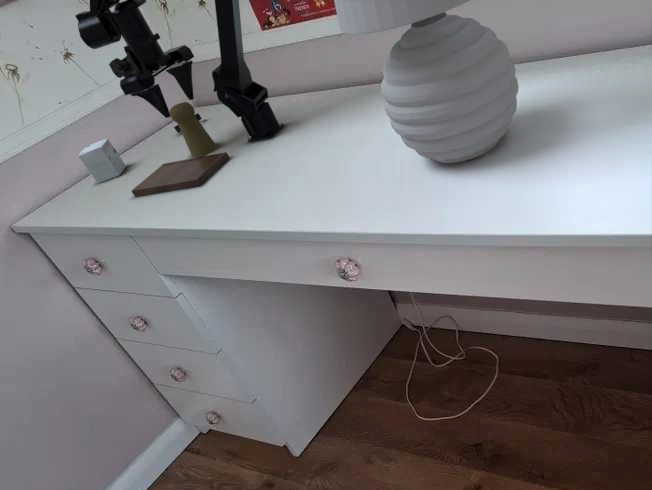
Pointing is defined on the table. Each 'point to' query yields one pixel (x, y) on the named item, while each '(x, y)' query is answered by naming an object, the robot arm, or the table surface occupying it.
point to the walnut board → (181, 174)
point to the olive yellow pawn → (192, 130)
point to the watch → (178, 125)
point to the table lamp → (439, 76)
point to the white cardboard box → (102, 160)
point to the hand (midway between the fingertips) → (180, 108)
